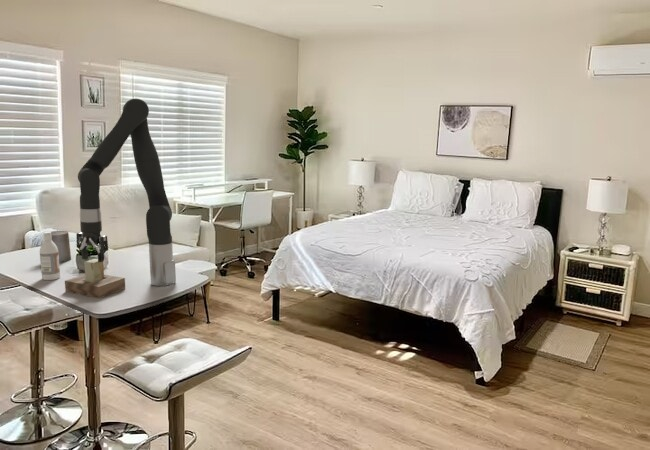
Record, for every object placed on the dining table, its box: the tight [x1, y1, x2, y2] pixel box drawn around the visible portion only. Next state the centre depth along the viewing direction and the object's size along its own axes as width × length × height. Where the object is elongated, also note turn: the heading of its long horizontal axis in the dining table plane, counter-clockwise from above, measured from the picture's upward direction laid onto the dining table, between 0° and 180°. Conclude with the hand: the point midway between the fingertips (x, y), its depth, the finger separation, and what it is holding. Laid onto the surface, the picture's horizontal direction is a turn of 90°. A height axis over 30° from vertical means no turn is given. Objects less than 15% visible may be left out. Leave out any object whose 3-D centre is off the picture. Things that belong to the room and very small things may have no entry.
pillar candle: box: [50, 230, 72, 263], centre depth 246 cm, size 10×10×15 cm
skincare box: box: [83, 258, 105, 283], centre depth 201 cm, size 6×4×12 cm
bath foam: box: [39, 231, 61, 281], centre depth 216 cm, size 7×7×20 cm
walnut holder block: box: [64, 274, 126, 299], centre depth 202 cm, size 18×13×4 cm
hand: (92, 260), depth 200 cm, fingers open, 8 cm apart
